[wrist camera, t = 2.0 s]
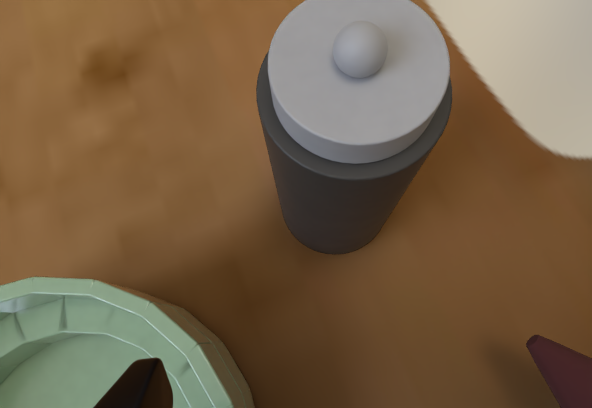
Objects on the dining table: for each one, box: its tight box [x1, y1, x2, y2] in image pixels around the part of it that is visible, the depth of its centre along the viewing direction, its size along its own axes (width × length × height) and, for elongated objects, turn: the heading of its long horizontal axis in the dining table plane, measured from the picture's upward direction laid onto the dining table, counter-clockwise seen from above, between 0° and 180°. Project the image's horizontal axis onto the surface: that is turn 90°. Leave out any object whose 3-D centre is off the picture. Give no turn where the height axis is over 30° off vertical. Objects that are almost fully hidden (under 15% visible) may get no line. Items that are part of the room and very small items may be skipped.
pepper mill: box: [256, 0, 452, 254], centre depth 16 cm, size 5×5×13 cm
